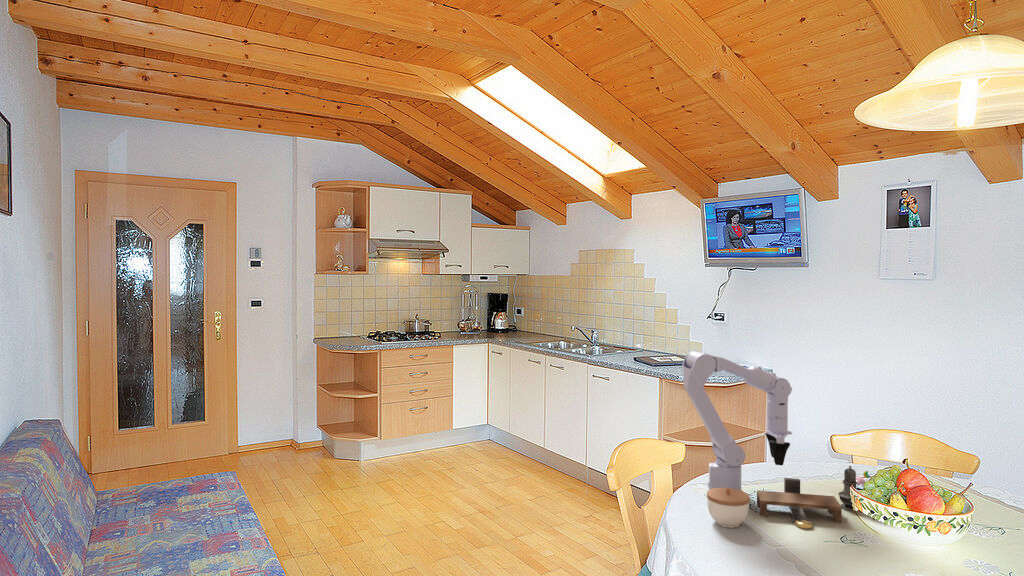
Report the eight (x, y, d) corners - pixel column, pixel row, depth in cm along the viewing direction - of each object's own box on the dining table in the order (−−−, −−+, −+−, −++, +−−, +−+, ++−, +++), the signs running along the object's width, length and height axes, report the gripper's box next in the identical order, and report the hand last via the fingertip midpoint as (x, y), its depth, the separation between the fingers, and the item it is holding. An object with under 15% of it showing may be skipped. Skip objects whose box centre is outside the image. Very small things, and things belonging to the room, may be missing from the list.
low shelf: (760, 516, 168) (760, 500, 168) (756, 505, 176) (756, 490, 176) (841, 523, 163) (841, 506, 163) (833, 511, 171) (834, 496, 171)
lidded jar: (752, 533, 158) (753, 496, 157) (709, 530, 160) (709, 494, 160) (745, 516, 168) (745, 482, 168) (704, 514, 170) (704, 480, 170)
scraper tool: (791, 522, 164) (791, 496, 164) (782, 501, 179) (782, 477, 179) (812, 524, 163) (812, 497, 163) (801, 503, 177) (801, 479, 177)
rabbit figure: (869, 487, 194) (834, 486, 188) (871, 468, 194) (836, 466, 188) (887, 494, 188) (852, 493, 182) (890, 474, 188) (854, 472, 183)
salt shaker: (866, 511, 171) (866, 468, 170) (844, 512, 171) (845, 468, 170) (854, 503, 177) (855, 462, 176) (834, 504, 177) (834, 462, 176)
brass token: (797, 529, 160) (797, 525, 160) (793, 523, 164) (793, 519, 164) (814, 531, 159) (814, 526, 159) (810, 524, 163) (810, 520, 163)
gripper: (795, 422, 178) (795, 469, 179) (787, 411, 192) (787, 454, 193) (769, 421, 180) (769, 467, 180) (763, 410, 194) (763, 453, 194)
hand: (777, 460), depth 187 cm, fingers open, 7 cm apart
